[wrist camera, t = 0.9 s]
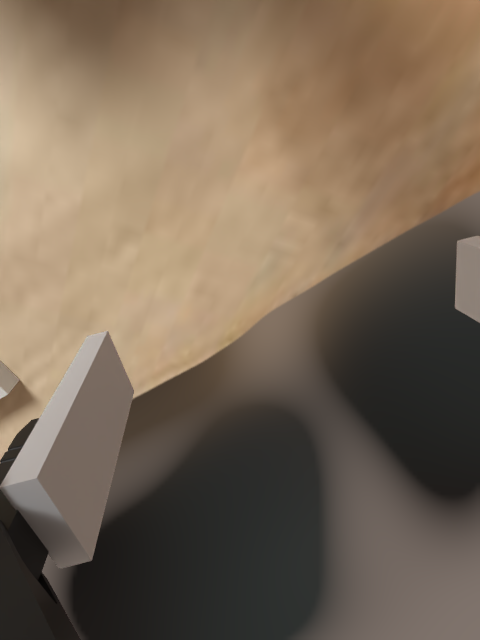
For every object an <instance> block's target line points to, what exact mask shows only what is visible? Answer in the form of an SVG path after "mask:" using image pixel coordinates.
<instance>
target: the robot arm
mask: <svg viewBox="0 0 480 640" xmlns="http://www.w3.org/2000/svg"><path fill="white" fill-rule="evenodd" d="M455 308H456V309H458V310H459V311H461V312H462V313H464V314H466V315H467V316H469V317H471V318H473V319H474V320H476V321H478V322H479V323H480V236H474V237H471V238H467V239H462V240H458V241H457V261H456V291H455ZM133 394H134V390H133V387H132V385H131V383H130V380H129V378H128V376H127V374H126V371H125V369H124V367H123V364H122V362H121V360H120V358H119V355H118V353H117V351H116V348H115V346H114V344H113V342H112V339H111V337H110V335H109V332H108V331H105V332H101V333H97V334H93V335H89V336H87V337H86V339H85V341H84V342H83V344H82V346H81V348H80V349H79V351H78V353H77V354H76V356H75V358H74V360H73V361H72V363H71V365H70V367H69V368H68V370H67V372H66V373H65V375H64V377H63V379H62V380H61V382H60V384H59V385H58V387H57V389H56V391H55V392H54V394H53V396H52V398H51V399H50V401H49V403H48V404H47V406H46V408H45V410H44V411H43V413H42V415H41V416H40V418H38V419H34V420H31V421H30V422H29V423H28V424H27V425H26V426H25V427H24V428H23V429H22V430H21V431H20V432H19V433H18V434H17V435H16V436H15V438H14V440H13V441H12V443H11V444H10V446H9V448H8V451H7V452H5V454H4V456H3V457H2V459H1V460H0V640H81V639H80V638H79V636H78V634H77V632H76V630H75V628H74V627H73V625H72V623H71V621H70V619H69V617H68V616H67V614H66V612H65V610H64V608H63V607H62V605H61V603H60V601H59V599H58V597H57V596H56V594H55V592H54V590H53V588H52V587H51V585H50V583H49V581H48V580H47V578H46V577H45V576H44V574H43V573H42V569H43V566H44V563H45V561H46V558H47V555H48V554H49V556H50V557H51V558H52V560H53V561H54V562H55V563H56V565H57V566H58V568H59V569H61V568H65V567H69V566H73V565H76V564H80V563H84V562H88V561H91V560H92V557H93V553H94V549H95V545H96V541H97V537H98V533H99V529H100V525H101V521H102V517H103V513H104V509H105V505H106V501H107V497H108V493H109V489H110V486H111V481H112V477H113V473H114V469H115V465H116V462H117V458H118V454H119V449H120V446H121V442H122V438H123V434H124V430H125V425H126V421H127V418H128V413H129V410H130V406H131V401H132V398H133Z"/></svg>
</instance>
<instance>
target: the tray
mask: <svg viewBox="0 0 480 640" xmlns="http://www.w3.org/2000/svg"><path fill="white" fill-rule="evenodd" d="M18 381H19V379H18V378H17V377H16V376H15V375H14V374H13V373H12V372H11V371H10V370H9V369H8V368H7V367H6V366H5V365H4V364H3V363H2V362H1V361H0V399H1V398H3V397H4V396H6V395H8V394H9V393H10V391H11V390H12V389H13V388H14V386H15V385H16V384H17V383H18Z"/></svg>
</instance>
